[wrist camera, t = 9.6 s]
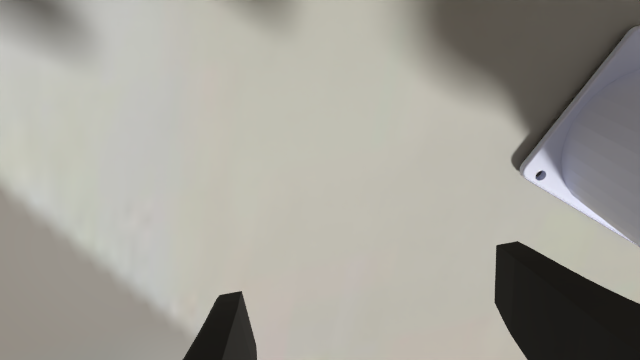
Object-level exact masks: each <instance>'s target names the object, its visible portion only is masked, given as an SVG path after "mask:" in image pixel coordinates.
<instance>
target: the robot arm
mask: <svg viewBox="0 0 640 360" xmlns="http://www.w3.org/2000/svg"><path fill="white" fill-rule="evenodd" d="M539 171H542V173H541V174H540V175H539V176H538V177H536V174H537V173H538V172H539ZM520 174H521V175H522V176H523V177H524V178H525V179H527V180H528V181H530V182H532V183H533V184H535V185H537V186H538V187H540V188H542V189H543V190H545V191H547V192H548V193H550V194H552V195H553V196H555V197H557V198H558V199H560V200H562V201H563V202H565V203H567V204H569V205H570V206H572V207H574V208H575V209H577V210H579V211H580V212H582V213H584V214H585V215H587V216H589V217H590V218H592V219H594V220H595V221H597V222H599V223H600V224H602V225H604V226H605V227H607V228H609V229H610V230H612V231H614V232H615V233H617V234H619V235H620V236H622V237H624V238H625V239H627V240H629V241H630V242H632V243H634V244H635V245H637V246H639V247H640V26H635V27H633V28H631V29H630V30H629V31H628V32H627V33H626V35H625V36H624V37H623V38H622V40H621V41H620V42H619V43H618V45H617V46H616V47H615V48H614V50H613V51H612V52H611V53H610V55H609V56H608V57H607V58H606V60H605V61H604V62H603V63H602V65H601V66H600V67H599V68H598V70H597V71H596V72H595V73H594V75H593V76H592V77H591V78H590V80H589V81H588V82H587V83H586V85H585V86H584V87H583V88H582V90H581V91H580V92H579V93H578V95H577V96H576V97H575V98H574V99H573V101H572V102H571V103H570V104H569V106H568V107H567V108H566V109H565V111H564V112H563V113H562V114H561V116H560V117H559V118H558V119H557V121H556V122H555V123H554V124H553V126H552V127H551V128H550V129H549V131H548V132H547V133H546V134H545V136H544V137H543V138H542V139H541V141H540V142H539V143H538V144H537V146H536V147H535V148H534V149H533V151H532V152H531V153H530V154H529V156H528V157H527V158H526V159H525V161H524V162H523V163H522V165H521V166H520ZM495 304H496V306H497V308H498V310H499V312H500V314H501V316H502V319H503V321H504V322H505V324H506V326H507V328H508V330H509V332H510V334H511V335H512V337H513V339H514V340H515V342H516V343H517V345H518V346H519V348H520V349H521V351H522V352H523V354H524V355H525V357H526V358H527V359H528V360H640V304H638V303H636V302H634V301H632V300H629V299H627V298H625V297H623V296H621V295H619V294H617V293H614V292H612V291H610V290H608V289H606V288H604V287H602V286H600V285H598V284H596V283H594V282H592V281H590V280H588V279H586V278H584V277H582V276H581V275H579V274H577V273H575V272H573V271H571V270H569V269H568V268H566V267H564V266H562V265H560V264H558V263H557V262H555V261H553V260H551V259H549V258H548V257H546V256H544V255H542V254H540V253H539V252H537V251H535V250H533V249H531V248H530V247H528V246H526V245H524V244H522V243H520V242H518V241H517V242H512V243H506V244H501V245H497V246H496V276H495ZM183 360H257V350H256V343H255V339H254V336H253V332H252V328H251V324H250V321H249V317H248V313H247V309H246V306H245V302H244V298H243V294H242V291H240V292H234V293H229V294H223V295H219V297H218V298H217V299H216V301H215V303H214V305H213V307H212V309H211V311H210V313H209V315H208V317H207V319H206V321H205V322H204V324H203V326H202V328H201V330H200V332H199V333H198V335H197V337H196V339H195V340H194V342H193V344H192V345H191V347H190V349H189V350H188V352H187V354H186V355H185V357H184V359H183Z"/></svg>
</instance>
